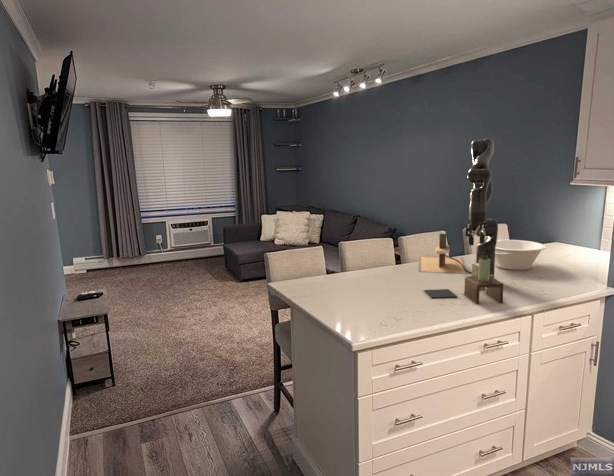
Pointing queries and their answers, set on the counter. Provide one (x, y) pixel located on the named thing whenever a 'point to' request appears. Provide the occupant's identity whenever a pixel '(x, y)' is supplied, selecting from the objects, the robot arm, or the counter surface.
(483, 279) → the bottle
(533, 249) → the white wash basin
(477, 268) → the cosmetic box
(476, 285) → the shelf
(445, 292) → the mat
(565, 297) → the counter surface
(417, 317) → the counter surface
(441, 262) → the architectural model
